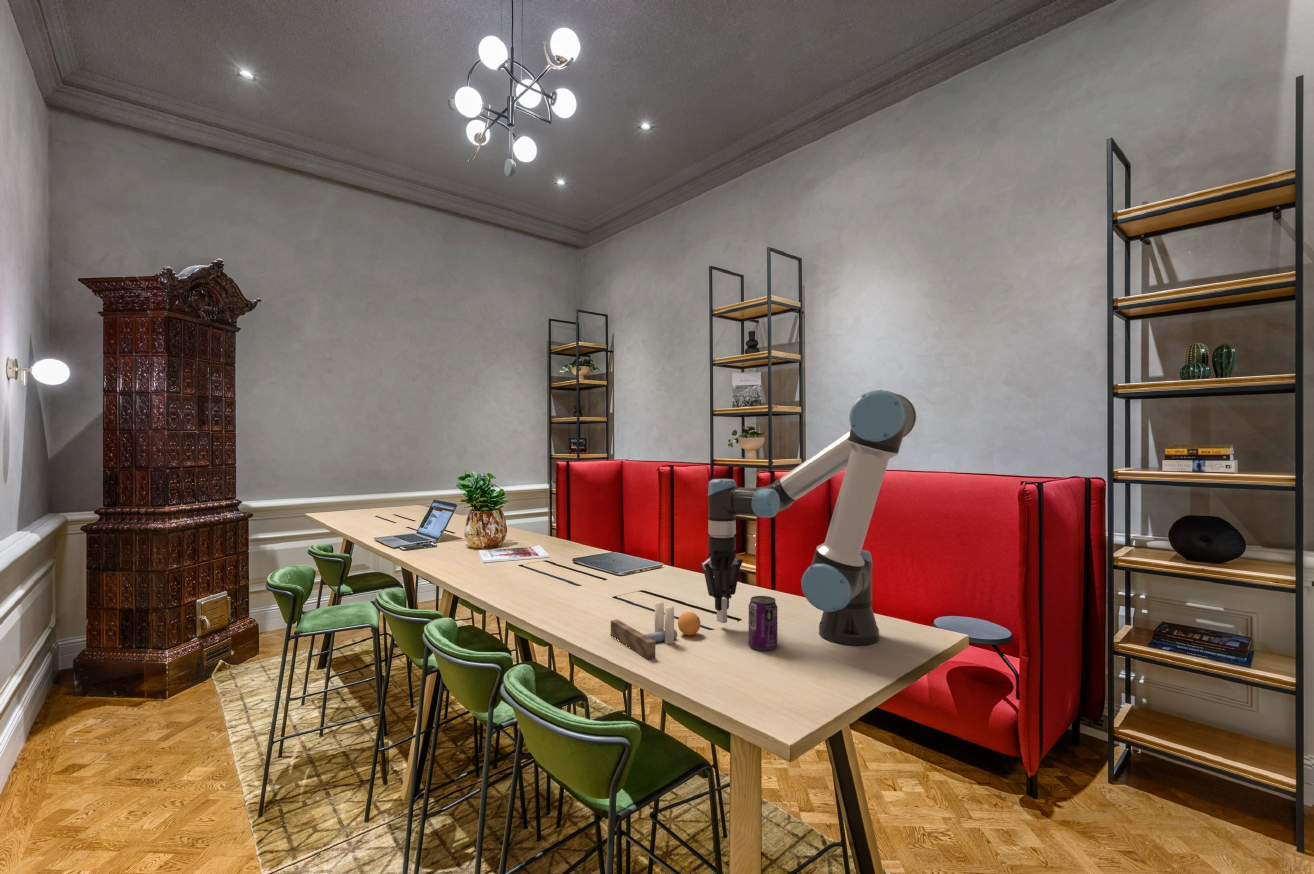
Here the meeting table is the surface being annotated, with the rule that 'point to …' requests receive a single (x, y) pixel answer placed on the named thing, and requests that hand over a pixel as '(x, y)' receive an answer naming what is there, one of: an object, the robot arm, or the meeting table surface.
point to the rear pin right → (659, 616)
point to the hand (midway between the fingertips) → (722, 621)
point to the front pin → (659, 636)
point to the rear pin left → (669, 625)
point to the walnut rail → (633, 639)
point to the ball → (689, 623)
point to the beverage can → (763, 623)
